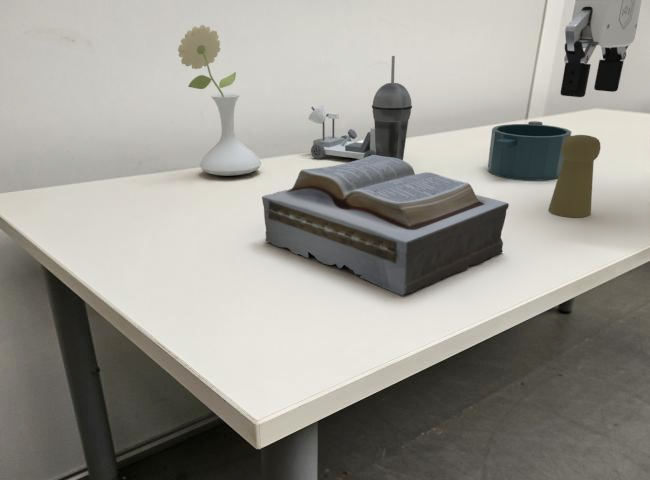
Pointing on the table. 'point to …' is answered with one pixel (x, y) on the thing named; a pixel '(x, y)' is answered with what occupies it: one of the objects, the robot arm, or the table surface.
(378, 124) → the beverage cup
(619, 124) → the table surface
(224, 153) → the flower in vase
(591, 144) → the cork
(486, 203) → the bible
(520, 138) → the pot
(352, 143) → the toy car
